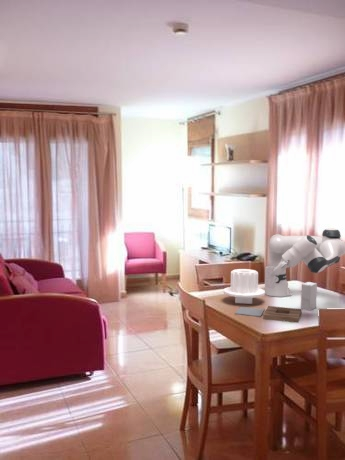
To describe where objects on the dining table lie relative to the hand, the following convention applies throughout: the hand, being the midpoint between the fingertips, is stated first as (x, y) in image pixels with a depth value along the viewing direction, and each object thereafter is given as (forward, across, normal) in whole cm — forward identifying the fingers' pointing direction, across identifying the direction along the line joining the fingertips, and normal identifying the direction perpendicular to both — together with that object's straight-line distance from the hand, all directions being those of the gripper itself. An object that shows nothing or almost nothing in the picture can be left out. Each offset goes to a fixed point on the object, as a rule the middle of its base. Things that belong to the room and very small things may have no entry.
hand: (270, 276), depth 236 cm
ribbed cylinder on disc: (+29, +24, -2) cm, 37 cm away
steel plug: (+4, 0, -4) cm, 6 cm away
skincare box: (+2, +21, -29) cm, 36 cm away
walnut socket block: (+10, 0, -20) cm, 22 cm away
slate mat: (+23, +2, -7) cm, 24 cm away
